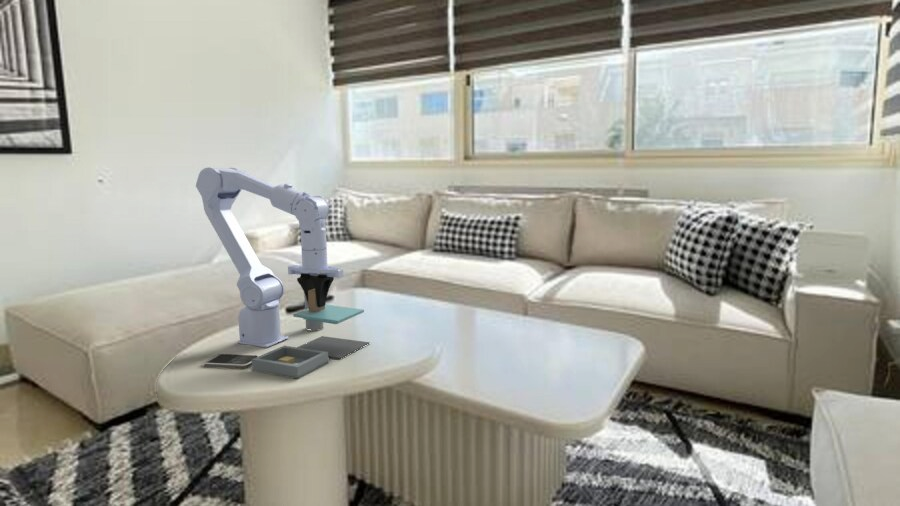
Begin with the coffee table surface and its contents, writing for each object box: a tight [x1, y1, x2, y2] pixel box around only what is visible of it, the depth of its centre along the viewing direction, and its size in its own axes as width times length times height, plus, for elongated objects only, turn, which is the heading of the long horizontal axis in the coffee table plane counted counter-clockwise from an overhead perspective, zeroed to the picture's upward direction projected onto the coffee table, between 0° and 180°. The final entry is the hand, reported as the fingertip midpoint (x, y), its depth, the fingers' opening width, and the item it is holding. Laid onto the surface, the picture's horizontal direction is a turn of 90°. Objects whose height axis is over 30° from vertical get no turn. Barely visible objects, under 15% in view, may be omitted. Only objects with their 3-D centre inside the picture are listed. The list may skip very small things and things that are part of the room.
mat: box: [297, 335, 371, 360], centre depth 129 cm, size 14×12×1 cm
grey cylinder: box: [303, 292, 324, 331], centre depth 145 cm, size 4×4×10 cm
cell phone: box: [200, 353, 259, 370], centre depth 120 cm, size 6×11×1 cm, turn 80°
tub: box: [251, 345, 329, 380], centre depth 116 cm, size 12×10×2 cm
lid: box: [292, 289, 365, 325], centre depth 128 cm, size 12×10×6 cm
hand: (316, 305), depth 129 cm, fingers closed on lid
